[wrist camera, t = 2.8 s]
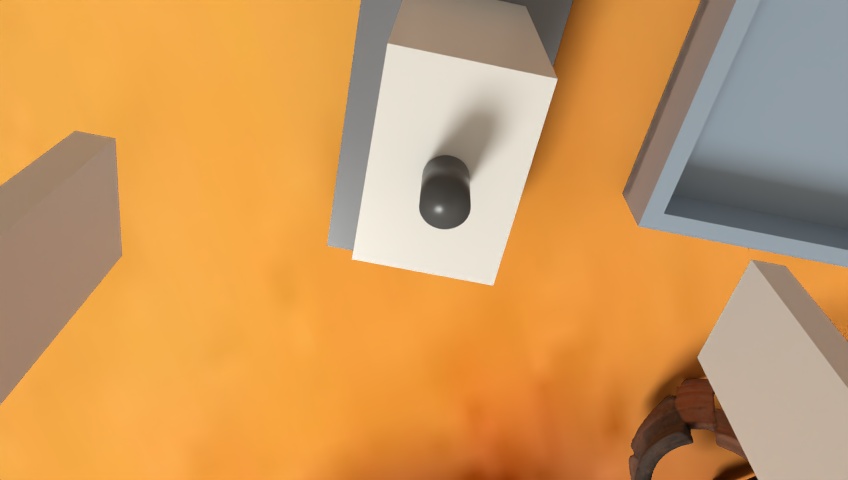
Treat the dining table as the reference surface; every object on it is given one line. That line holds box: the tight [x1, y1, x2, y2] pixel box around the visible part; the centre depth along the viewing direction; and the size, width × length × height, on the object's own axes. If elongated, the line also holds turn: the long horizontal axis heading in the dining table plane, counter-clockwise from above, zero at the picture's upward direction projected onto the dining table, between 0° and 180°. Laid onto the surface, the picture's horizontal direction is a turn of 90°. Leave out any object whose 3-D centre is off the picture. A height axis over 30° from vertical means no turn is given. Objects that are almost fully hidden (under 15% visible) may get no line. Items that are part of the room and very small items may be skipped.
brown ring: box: [629, 379, 758, 480], centre depth 35 cm, size 12×10×8 cm
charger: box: [352, 0, 558, 285], centre depth 20 cm, size 6×4×12 cm, turn 169°
